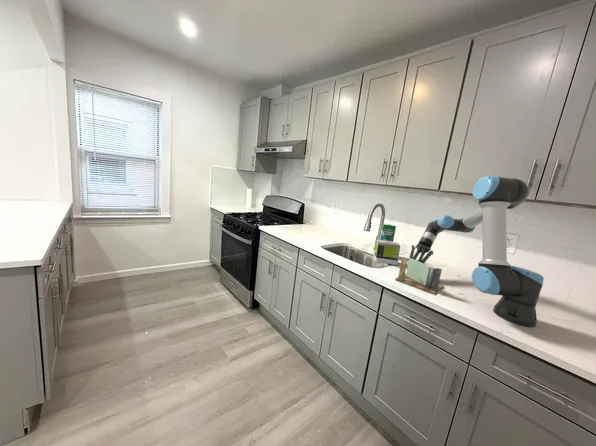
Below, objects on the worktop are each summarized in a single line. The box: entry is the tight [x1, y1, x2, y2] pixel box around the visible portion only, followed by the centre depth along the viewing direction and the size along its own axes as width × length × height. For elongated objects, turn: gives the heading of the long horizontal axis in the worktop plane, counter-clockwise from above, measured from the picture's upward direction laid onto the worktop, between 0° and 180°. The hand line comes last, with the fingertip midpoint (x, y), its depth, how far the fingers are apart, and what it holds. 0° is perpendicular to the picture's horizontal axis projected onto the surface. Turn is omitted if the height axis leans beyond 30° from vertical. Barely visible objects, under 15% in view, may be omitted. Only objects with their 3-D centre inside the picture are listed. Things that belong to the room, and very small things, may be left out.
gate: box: [405, 257, 436, 288], centre depth 140 cm, size 17×2×11 cm, turn 21°
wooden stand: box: [394, 258, 444, 296], centre depth 141 cm, size 21×18×13 cm
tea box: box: [373, 239, 401, 266], centre depth 176 cm, size 15×10×15 cm
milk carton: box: [378, 223, 397, 242], centre depth 192 cm, size 9×9×25 cm
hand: (411, 270), depth 149 cm, fingers closed
